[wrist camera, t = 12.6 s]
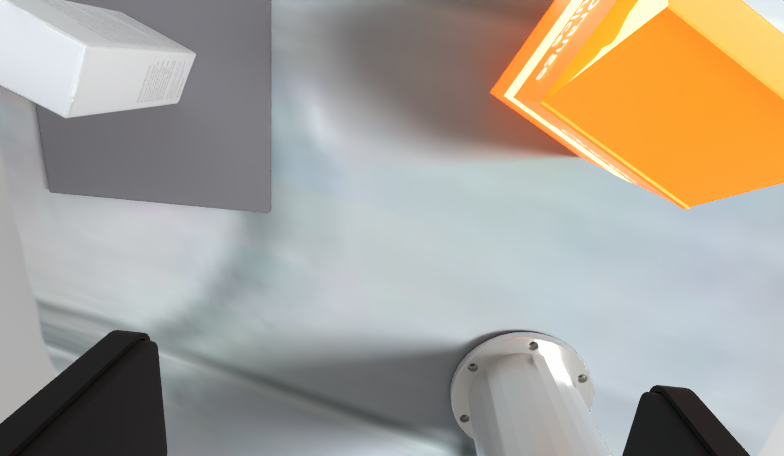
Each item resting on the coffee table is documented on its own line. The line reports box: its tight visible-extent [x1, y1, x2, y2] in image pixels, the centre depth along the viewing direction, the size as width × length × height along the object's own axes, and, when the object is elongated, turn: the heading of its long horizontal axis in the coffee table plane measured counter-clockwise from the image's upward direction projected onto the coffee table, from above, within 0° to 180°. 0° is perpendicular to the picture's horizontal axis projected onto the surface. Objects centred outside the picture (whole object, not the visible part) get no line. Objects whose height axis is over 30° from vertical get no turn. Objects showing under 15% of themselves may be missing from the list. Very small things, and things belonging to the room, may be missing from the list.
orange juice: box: [490, 0, 784, 209], centre depth 24 cm, size 8×9×20 cm
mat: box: [36, 0, 271, 213], centre depth 34 cm, size 22×18×1 cm
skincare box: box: [0, 0, 196, 118], centre depth 28 cm, size 6×4×12 cm
